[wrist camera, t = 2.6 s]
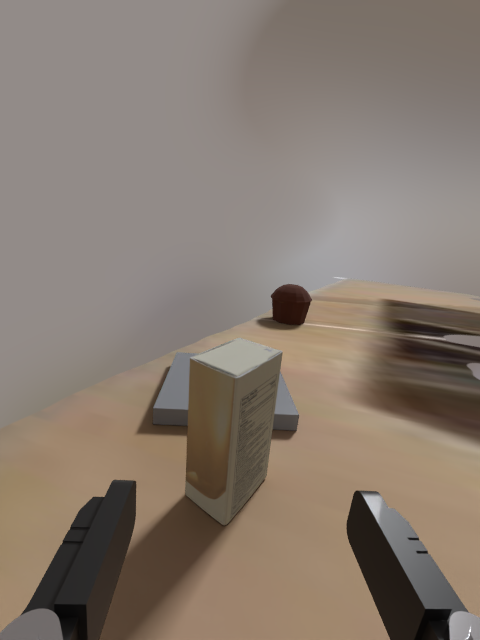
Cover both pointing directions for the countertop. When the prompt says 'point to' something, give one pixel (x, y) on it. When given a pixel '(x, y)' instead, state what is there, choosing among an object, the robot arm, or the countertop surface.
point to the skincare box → (230, 424)
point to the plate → (176, 397)
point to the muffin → (290, 304)
